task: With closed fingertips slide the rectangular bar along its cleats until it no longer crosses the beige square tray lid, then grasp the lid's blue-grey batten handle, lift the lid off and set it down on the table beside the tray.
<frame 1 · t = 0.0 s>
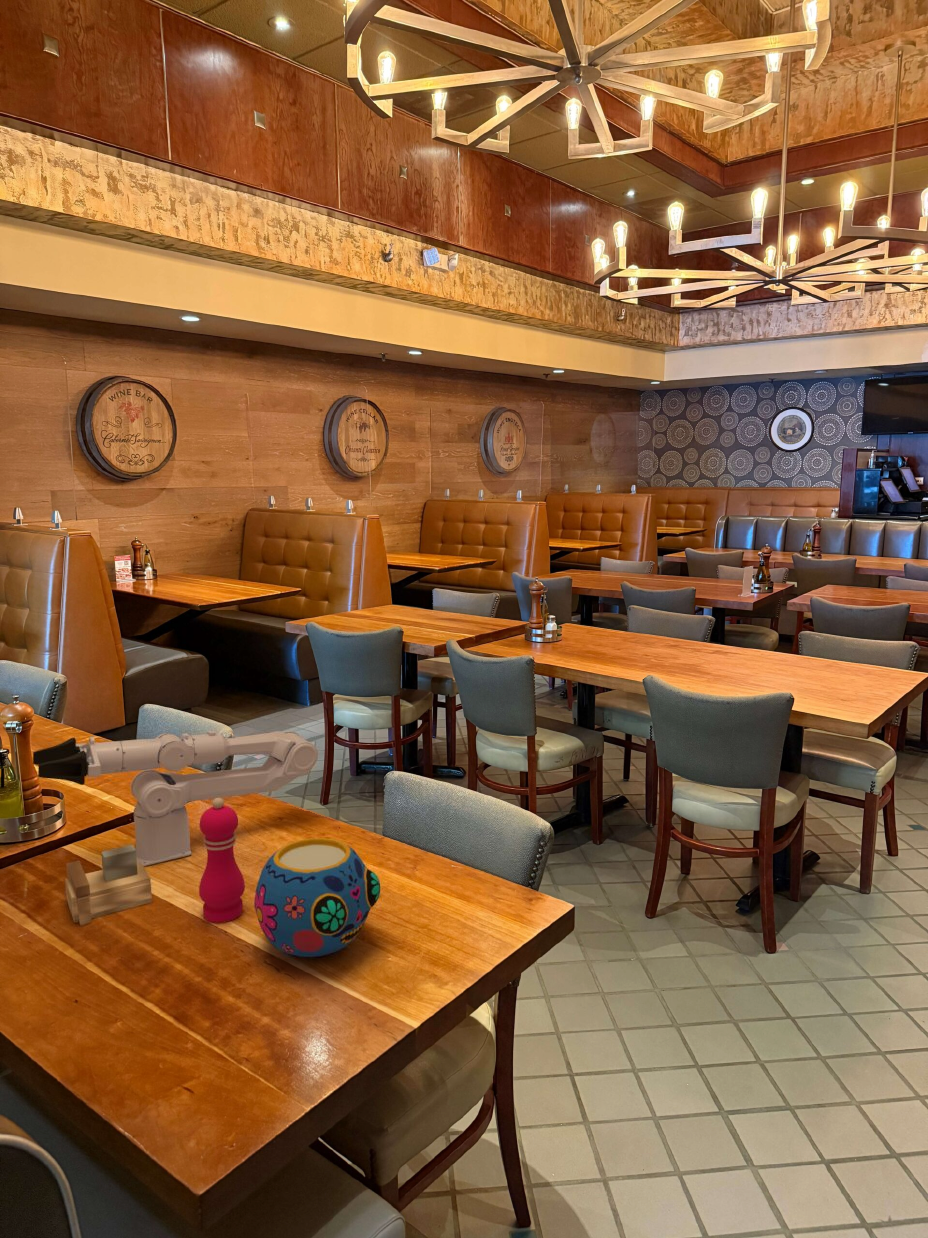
hand: (35, 764, 140), 22 cm above the table, tool horizontal, fingers open, 7 cm apart
pepper mill: (223, 914, 133), on the table
lid: (108, 883, 136), point 3 cm above the table, touching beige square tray
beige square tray: (109, 902, 137), on the table
ceramic pot: (315, 946, 124), on the table
rectangular bar: (77, 878, 133), point 6 cm above the table, slide at 0.0 cm
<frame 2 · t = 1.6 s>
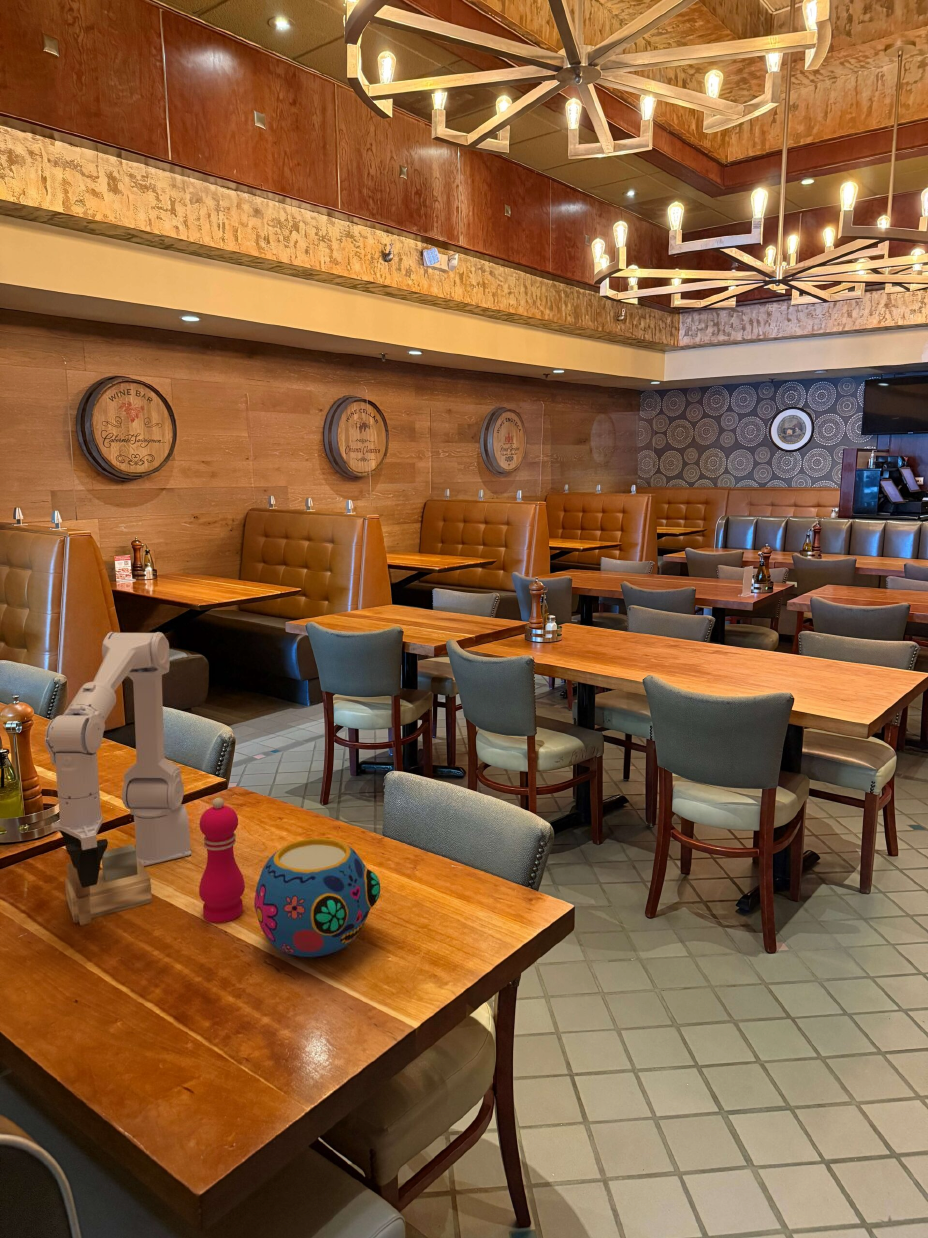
hand: (85, 875, 125), 10 cm above the table, tool pointing down, fingers open, 7 cm apart
nothing on the table moved.
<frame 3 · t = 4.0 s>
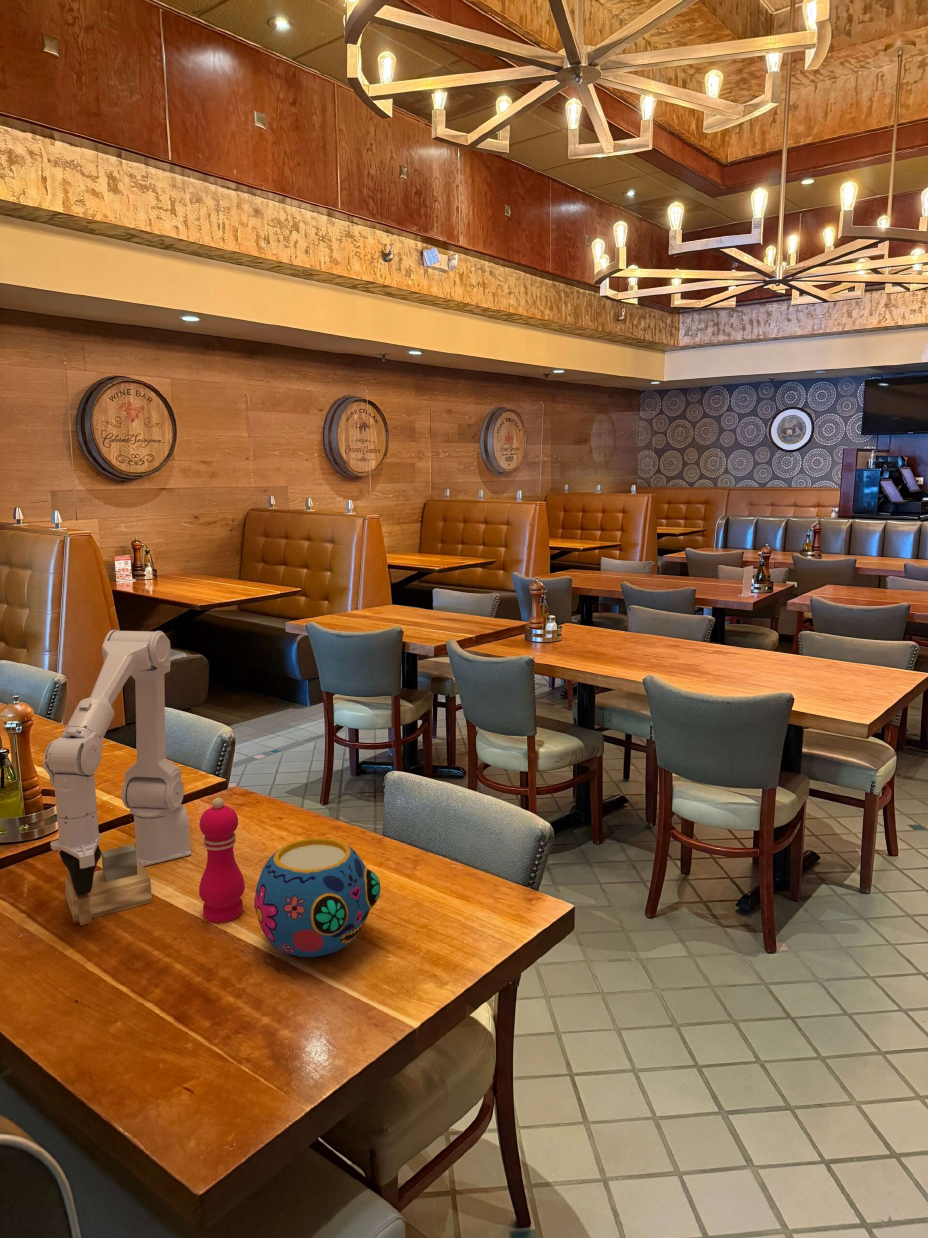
hand: (83, 892, 129), 5 cm above the table, tool pointing down, fingers closed
rectangular bar: (77, 876, 134), point 6 cm above the table, slide at 0.9 cm, touching gripper
everything else where it was.
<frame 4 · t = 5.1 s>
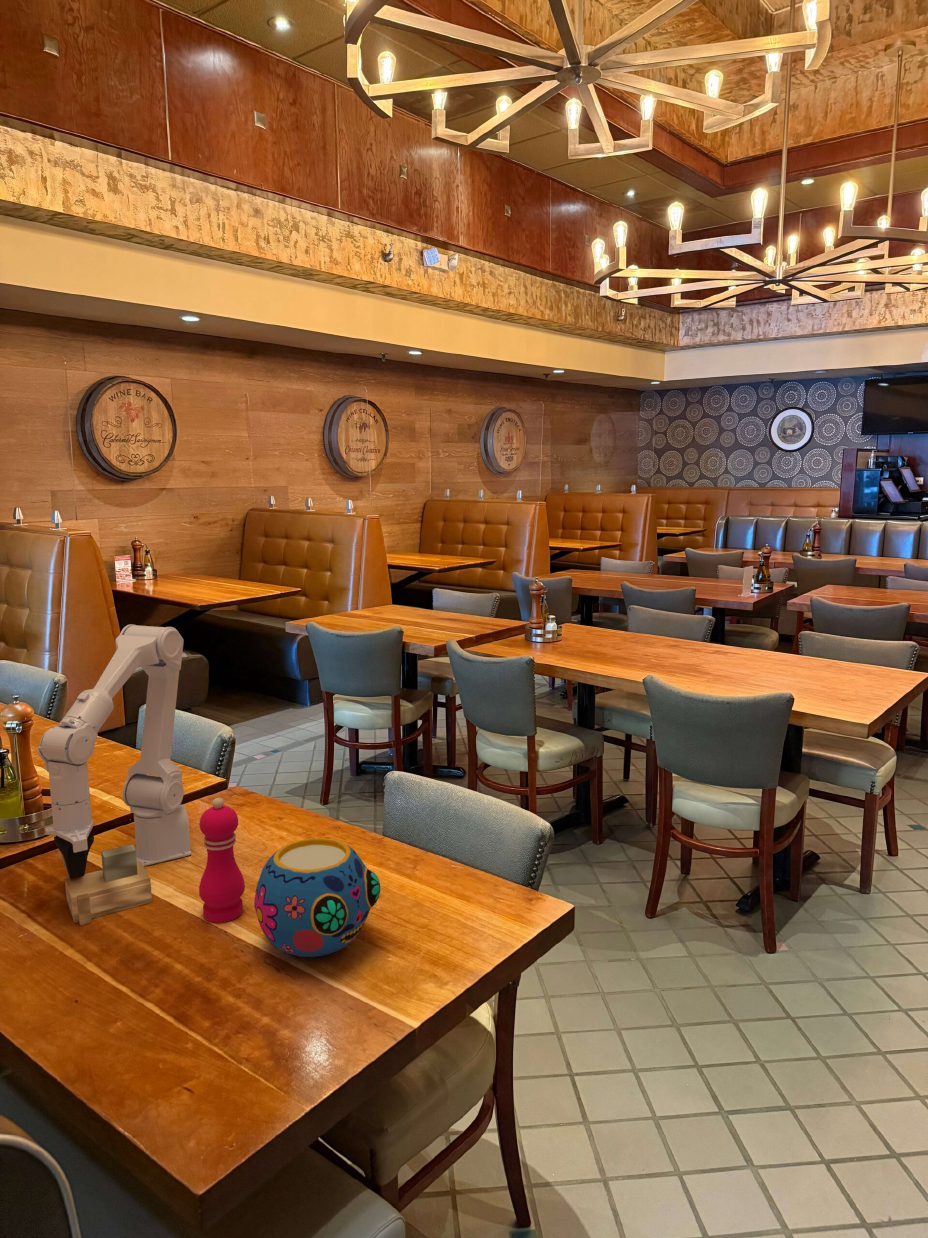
hand: (76, 876, 134), 5 cm above the table, tool pointing down, fingers closed
rectangular bar: (71, 861, 139), point 6 cm above the table, slide at 7.3 cm, touching gripper
everything else where it was.
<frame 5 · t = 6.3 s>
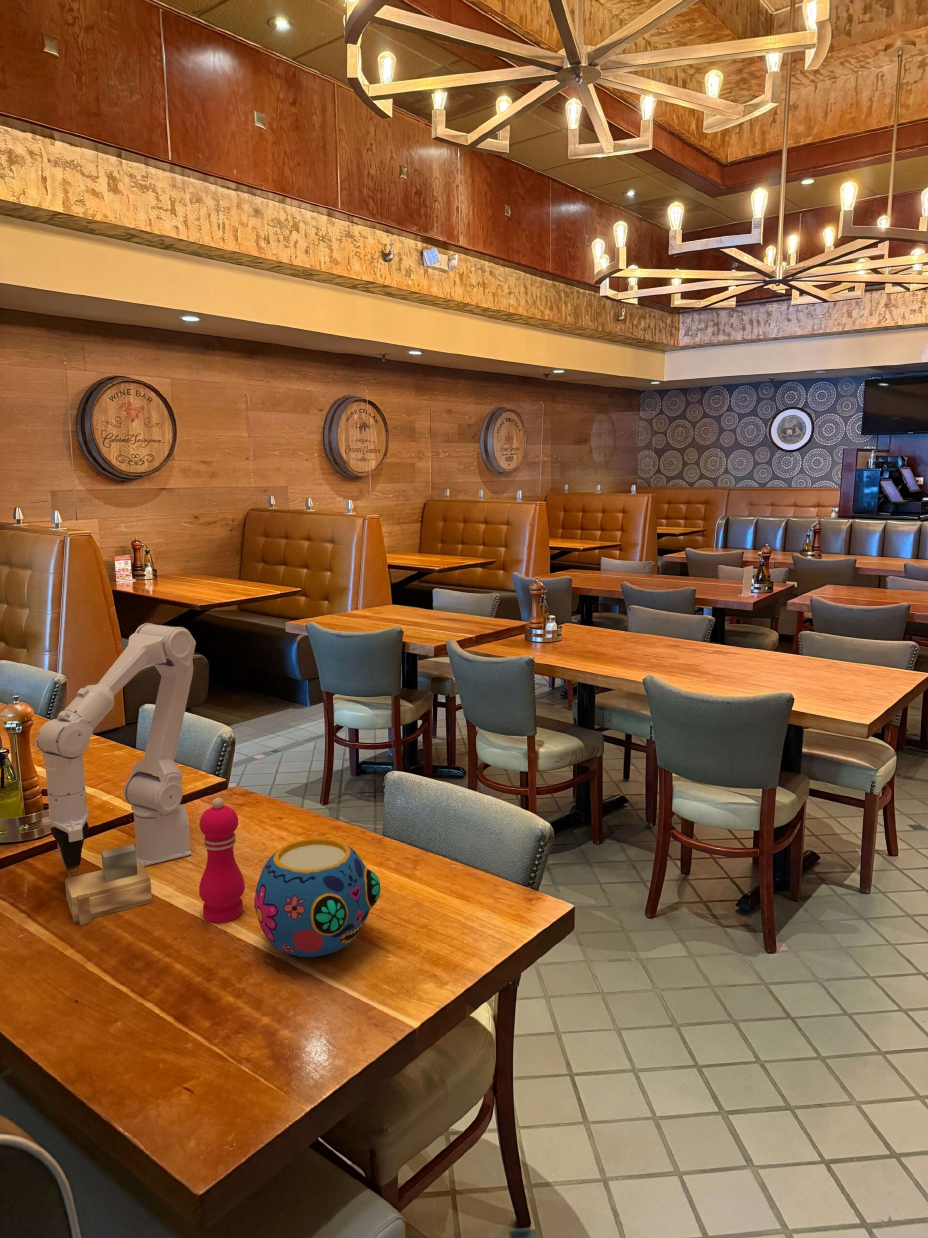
hand: (72, 866, 138), 5 cm above the table, tool pointing down, fingers closed, pressing on rectangular bar
rectangular bar: (67, 853, 142), point 6 cm above the table, slide at 11.1 cm, touching gripper
everything else where it was.
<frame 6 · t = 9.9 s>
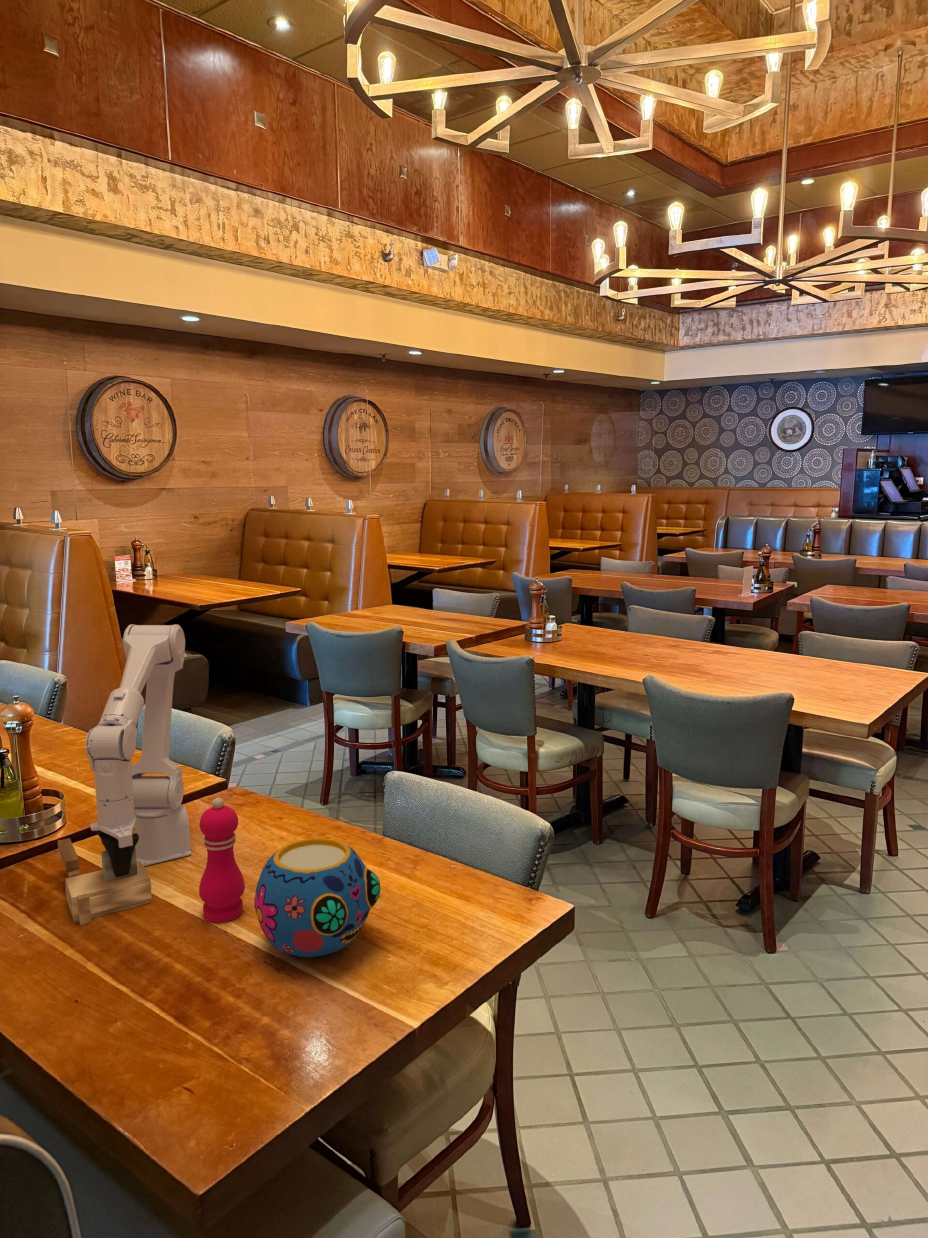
hand: (120, 871, 137), 5 cm above the table, tool pointing down, fingers closed on lid, 2 cm apart
lid: (108, 883, 136), point 3 cm above the table, touching gripper, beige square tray
rectangular bar: (68, 854, 142), point 6 cm above the table, slide at 10.5 cm
everything else where it was.
when the fingers open (4 cm above the table, at t = 12.6 s): lid drops 2 cm, on the table.
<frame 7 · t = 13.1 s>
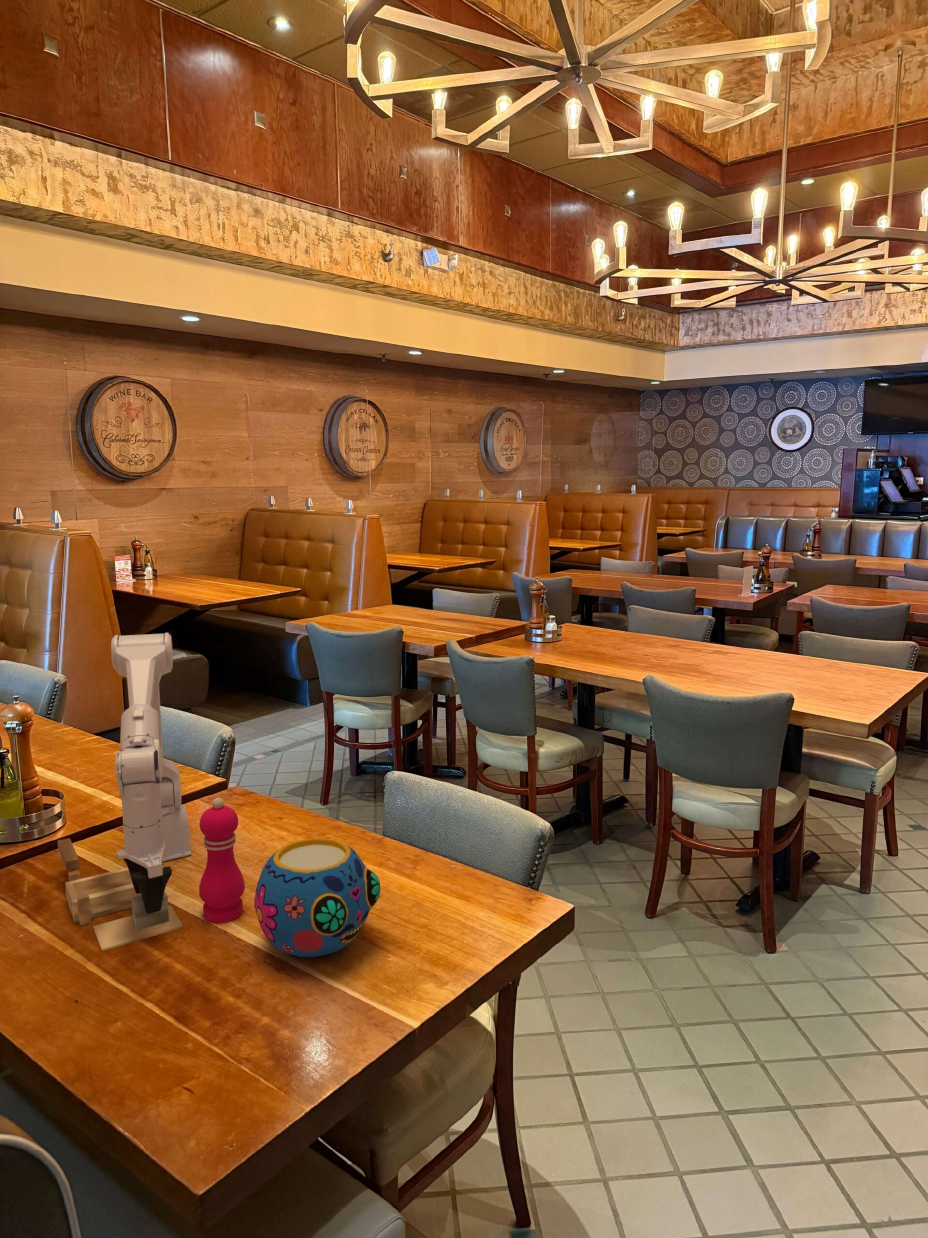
hand: (147, 901, 129), 4 cm above the table, tool pointing down, fingers open, 7 cm apart
lid: (138, 930, 129), on the table
everything else where it was.
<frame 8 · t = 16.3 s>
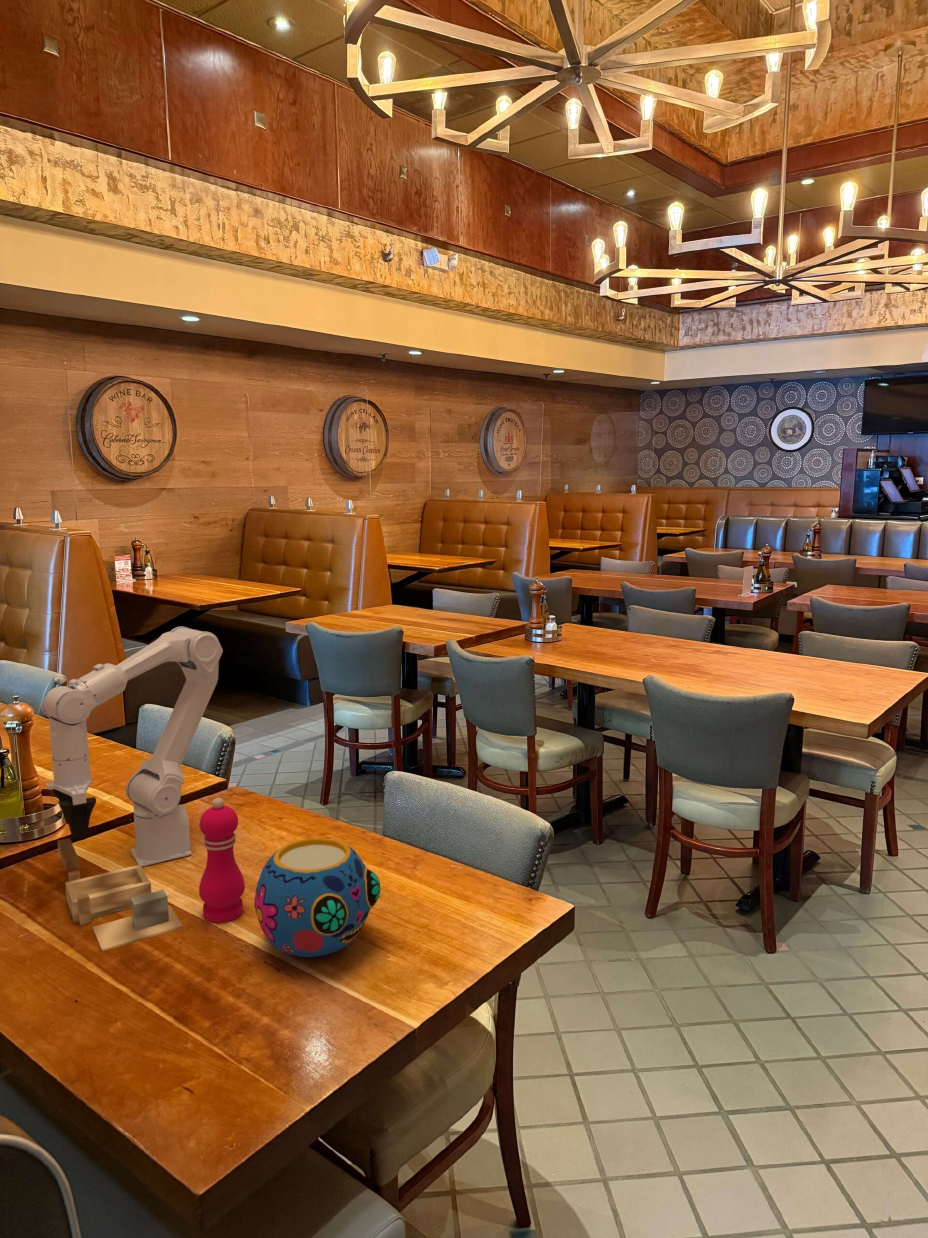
hand: (76, 830, 142), 10 cm above the table, tool pointing down, fingers open, 7 cm apart
nothing on the table moved.
at the end: rectangular bar slide at 10.5 cm; lid inside the target area (0.4 cm from its centre), on the table; lid tilted 0° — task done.
